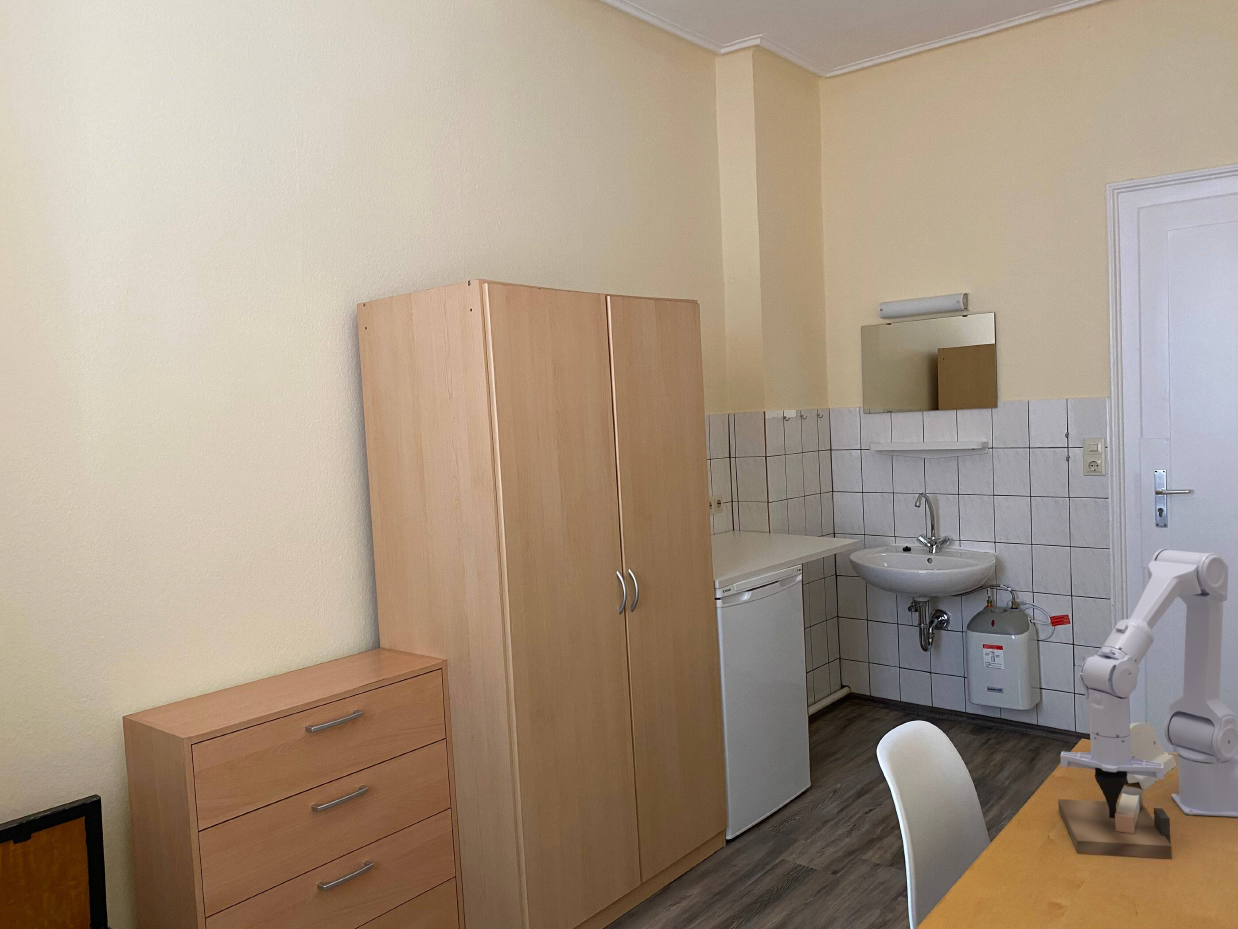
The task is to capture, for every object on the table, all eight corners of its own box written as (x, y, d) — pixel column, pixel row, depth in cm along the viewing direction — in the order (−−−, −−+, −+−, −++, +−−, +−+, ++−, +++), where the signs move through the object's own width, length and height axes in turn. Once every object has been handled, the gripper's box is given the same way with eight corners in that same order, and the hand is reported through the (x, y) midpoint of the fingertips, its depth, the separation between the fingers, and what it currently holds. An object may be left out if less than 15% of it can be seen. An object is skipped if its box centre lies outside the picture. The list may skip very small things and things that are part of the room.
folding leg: (1122, 801, 157) (1121, 785, 157) (1143, 804, 155) (1143, 788, 155) (1113, 830, 146) (1112, 813, 146) (1136, 834, 144) (1135, 817, 144)
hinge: (1144, 790, 166) (1122, 735, 168) (1118, 793, 169) (1096, 738, 172) (1177, 764, 177) (1156, 712, 179) (1152, 767, 180) (1131, 716, 182)
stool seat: (1147, 815, 156) (1146, 786, 156) (1177, 859, 140) (1176, 828, 140) (1058, 810, 160) (1057, 783, 159) (1077, 853, 144) (1076, 823, 144)
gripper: (1056, 734, 148) (1060, 817, 149) (1161, 745, 141) (1165, 833, 141) (1062, 721, 154) (1065, 801, 155) (1163, 732, 147) (1166, 816, 147)
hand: (1113, 816), depth 148 cm, fingers closed
